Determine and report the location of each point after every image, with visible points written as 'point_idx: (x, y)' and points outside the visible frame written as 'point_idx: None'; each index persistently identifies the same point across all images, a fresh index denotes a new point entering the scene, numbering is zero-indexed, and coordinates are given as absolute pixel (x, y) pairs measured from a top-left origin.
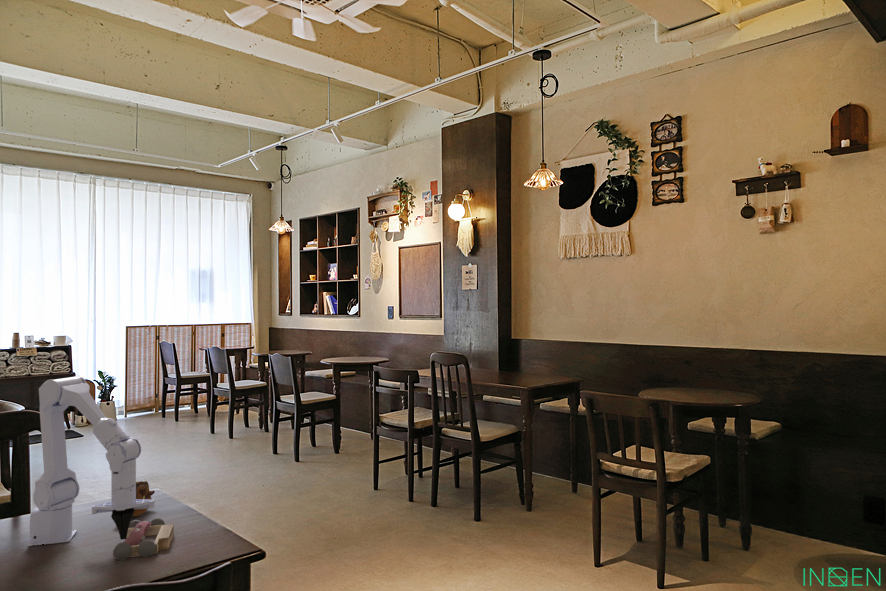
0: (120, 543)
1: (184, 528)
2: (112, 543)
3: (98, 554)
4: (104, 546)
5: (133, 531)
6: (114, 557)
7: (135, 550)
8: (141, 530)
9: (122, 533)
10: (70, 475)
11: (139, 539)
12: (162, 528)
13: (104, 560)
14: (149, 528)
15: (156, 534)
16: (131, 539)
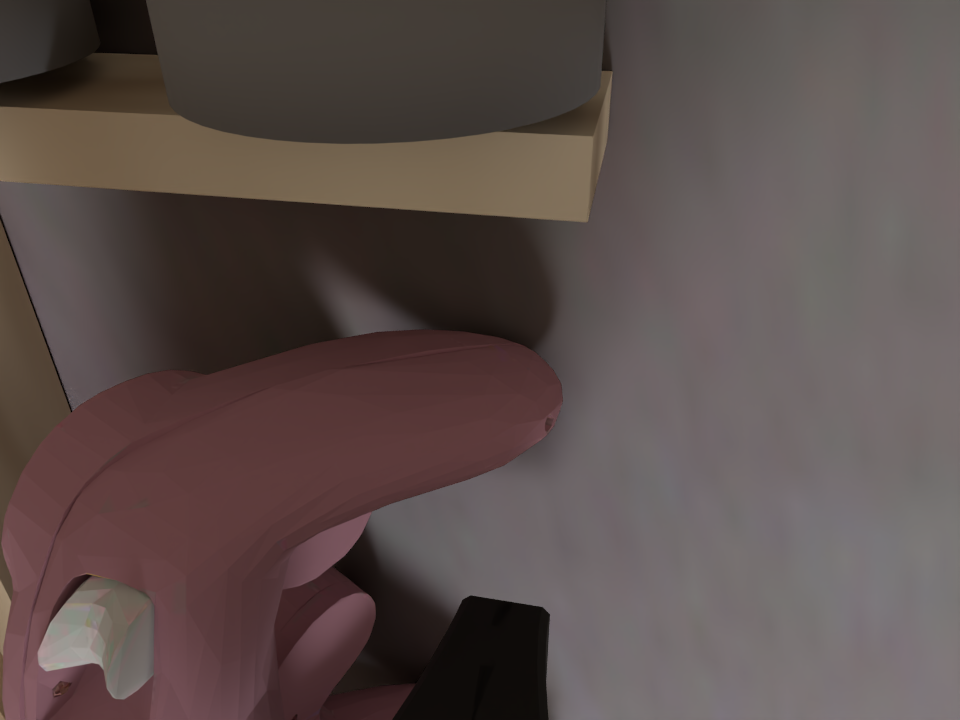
0: (360, 72)
1: None
2: (711, 701)
3: (927, 417)
4: (820, 662)
5: (197, 623)
6: (607, 78)
7: (158, 85)
8: (30, 594)
9: (482, 696)
10: None
11: (110, 389)
12: None
13: (816, 55)
14: None
15: None
16: (260, 429)
